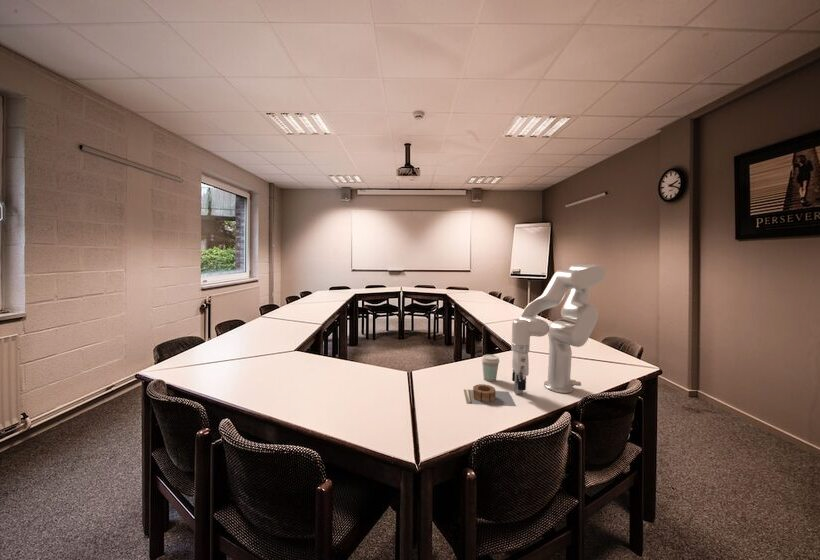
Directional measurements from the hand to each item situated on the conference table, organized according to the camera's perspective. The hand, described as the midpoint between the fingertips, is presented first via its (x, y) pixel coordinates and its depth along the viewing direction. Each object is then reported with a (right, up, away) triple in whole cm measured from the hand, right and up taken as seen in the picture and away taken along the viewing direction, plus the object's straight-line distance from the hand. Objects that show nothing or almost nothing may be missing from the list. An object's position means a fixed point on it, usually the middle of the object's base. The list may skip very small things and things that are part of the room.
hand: (518, 385), depth 142 cm
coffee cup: (-9, -3, +16) cm, 19 cm away
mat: (-14, -4, -4) cm, 16 cm away
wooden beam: (0, -4, 0) cm, 4 cm away
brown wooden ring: (-16, -4, -4) cm, 17 cm away
